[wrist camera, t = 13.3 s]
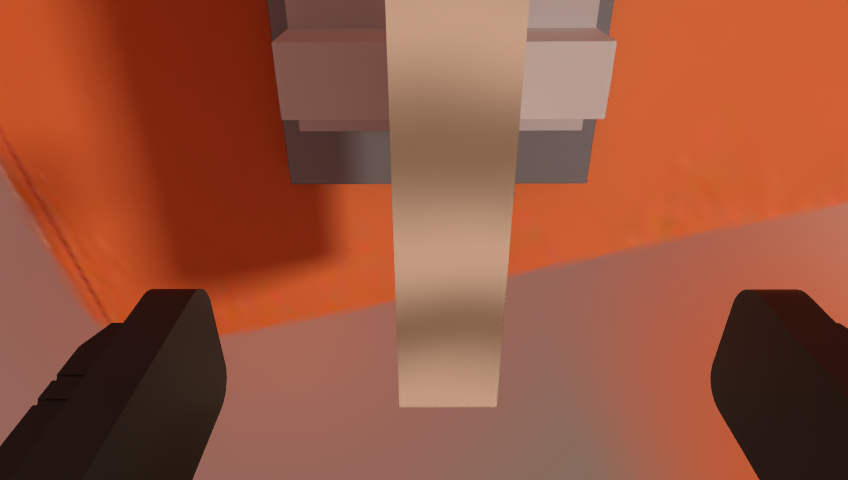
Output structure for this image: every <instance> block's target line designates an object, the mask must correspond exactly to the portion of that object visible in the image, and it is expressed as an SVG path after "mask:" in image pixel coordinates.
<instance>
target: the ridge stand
mask: <svg viewBox="0 0 848 480" xmlns="http://www.w3.org/2000/svg"><path fill="white" fill-rule="evenodd" d="M613 3H614V0H530V3H529V15H528V27H527V39H526V52H525V64H524V76H523V88H522V101H521V113H520V125H519V137H518V150H517V162H516V174H515V183H586V182H587V176H588V169H589V162H590V156H591V149H592V142H593V136H594V129H595V123H596V119H605V114H606V108H607V102H608V95H609V89H610V83H611V76H612V70H613V64H614V57H615V51H616V45H617V41H616V40H614V39H613V38H611V37H610V36H609V30H610V23H611V16H612V10H613ZM267 4H268V11H269V19H270V27H271V34H272V42H271V44H272V52H273V59H274V67H275V75H276V82H277V90H278V97H279V105H280V112H281V120H283V126H284V133H285V141H286V149H287V156H288V164H289V172H290V179H291V184H392V180H391V152H390V124H389V96H388V68H387V40H386V12H385V0H267Z"/></svg>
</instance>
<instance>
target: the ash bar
mask: <svg viewBox="0 0 848 480" xmlns="http://www.w3.org/2000/svg"><path fill="white" fill-rule="evenodd" d="M529 3H530V0H385V12H386V40H387V68H388V96H389V124H390V152H391V180H392V208H393V236H394V264H395V292H396V318H397V319H396V320H397V345H398V347H397V348H398V374H399V375H398V376H399V402H400V403H399V404H400V407H496V406H497V393H498V381H499V370H500V358H501V345H502V333H503V321H504V308H505V296H506V284H507V272H508V260H509V247H510V235H511V223H512V211H513V199H514V186H515V174H516V162H517V150H518V137H519V125H520V113H521V101H522V88H523V76H524V64H525V52H526V39H527V27H528V15H529Z"/></svg>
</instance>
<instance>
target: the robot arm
mask: <svg viewBox="0 0 848 480" xmlns="http://www.w3.org/2000/svg"><path fill="white" fill-rule="evenodd" d="M226 378H227V376H226V365H225V361H224V357H223V352H222V348H221V344H220V340H219V335H218V331H217V327H216V323H215V318H214V314H213V310H212V306H211V302H210V298H209V296H208V294H207V293H206V291H205V290H203V289H151V290H149V291H147V292H146V293H145V294H144V295H143V297H142V298H141V299H140V301H139V302H138V304H137V305H136V306H135V308H134V309H133V310H132V312H131V313H130V315H129V316H128V317H127V319H126V320H125V321H124V323H111V324H110V325H108V326H107V327H106V328H104V329H103V330H101V331H100V332H99V333H97V334H96V335H95V336H93V337H92V338H90V339H89V340H88V341H86V342H85V343H84V344H82V345H81V346H79V348H78V349H77V350H76V351H75V352H74V354H73V355H72V356H71V357H70V359H69V360H68V361H67V363H66V364H65V365H64V366H63V368H62V369H61V370H60V371H59V373H58V374H57V380H56V381H51V383H50V384H49V385H48V387H47V388H46V389H45V390H44V392H43V393H42V394H41V395H40V397H39V398H38V404H37V405H33V406H32V407H31V408H30V409H29V411H28V412H27V413H26V415H25V416H24V417H23V418H22V419H21V421H20V422H19V424H18V425H17V426H16V427H15V428H14V430H13V431H12V432H11V434H10V435H9V436H8V437H7V438H6V440H5V441H4V442H3V444H2V445H1V446H0V480H192V479H193V477H194V474H195V472H196V469H197V467H198V464H199V462H200V459H201V457H202V454H203V452H204V449H205V447H206V445H207V442H208V440H209V437H210V435H211V433H212V430H213V428H214V425H215V423H216V420H217V418H218V415H219V413H220V410H221V408H222V405H223V402H224V397H225V392H226V380H227V379H226ZM711 389H712V394H713V398H714V401H715V403H716V406H717V408H718V410H719V411H720V413H721V415H722V417H723V418H724V420H725V421H726V423H727V425H728V427H729V428H730V430H731V432H732V433H733V435H734V437H735V439H736V440H737V442H738V444H739V445H740V447H741V449H742V450H743V452H744V454H745V456H746V457H747V459H748V461H749V462H750V464H751V466H752V467H753V469H754V471H755V473H756V474H757V476H758V478H759V479H760V480H848V328H846V327H844V326H843V325H841V324H839V323H836V322H835V321H833V319H831V318H830V316H828V314H826V313H825V312H824V310H823V309H822V308H821V307H820V306H819V305H818V304H817V303H816V302H815V301H814V300H813V299H812V298H810V296H808V295H807V294H806V293H805V292H803V291H801V290H743V291H741V292H740V293H739V294H738V295H737V297H736V298H735V300H734V302H733V305H732V308H731V311H730V315H729V318H728V320H727V323H726V326H725V329H724V332H723V335H722V338H721V341H720V344H719V347H718V350H717V353H716V356H715V359H714V362H713V365H712V369H711Z"/></svg>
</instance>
